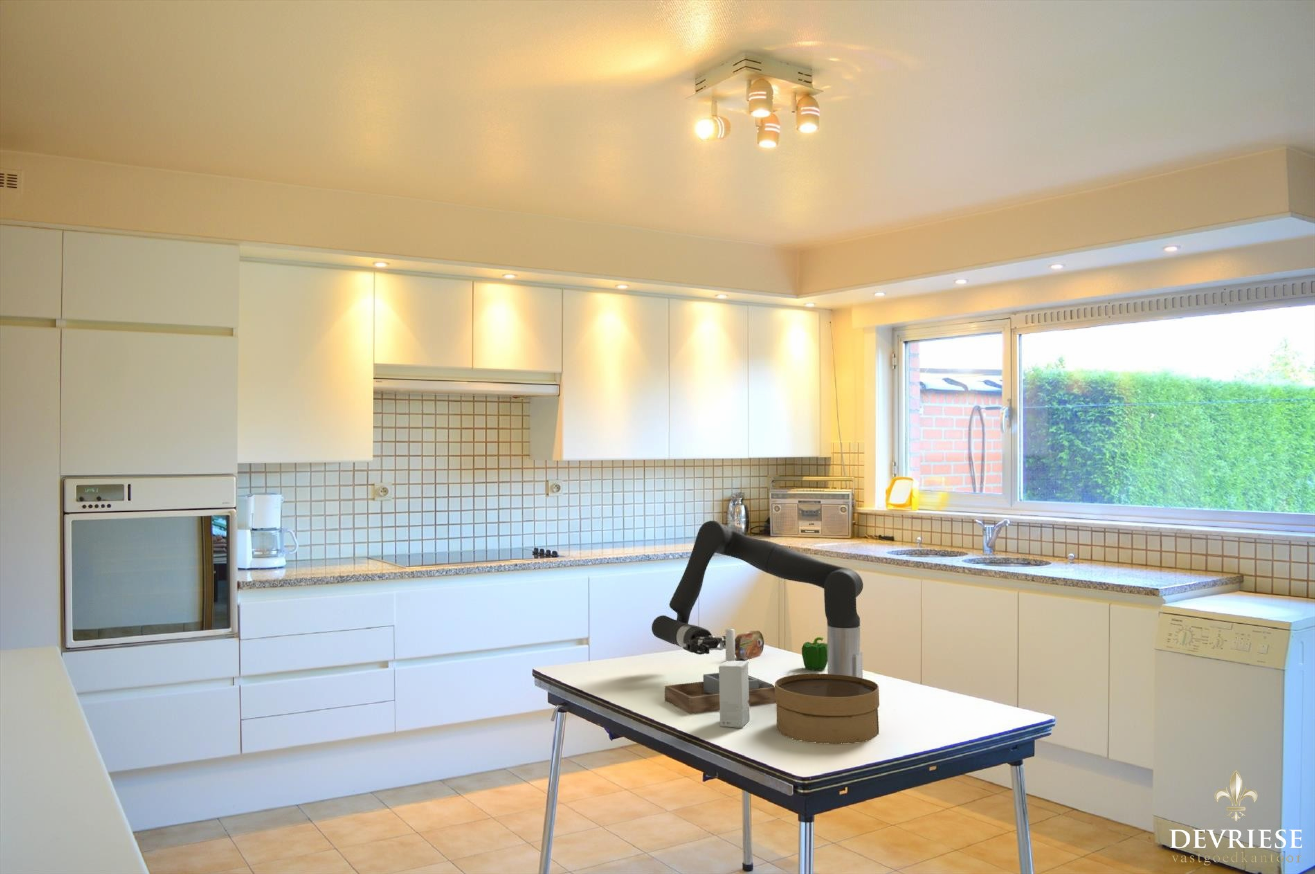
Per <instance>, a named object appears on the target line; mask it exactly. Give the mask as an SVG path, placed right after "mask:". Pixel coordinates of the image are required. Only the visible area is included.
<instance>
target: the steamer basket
mask: <svg viewBox="0 0 1315 874" xmlns="http://www.w3.org/2000/svg"><path fill="white" fill-rule="evenodd" d="M774 687H775V702H776V703H775V704H776V730H777V732H778V731H779V732H778V733H779V734H780V733H781V734H780V735H782V736H784V737H786V736H787V738H789V739H792V738H793V739H792V740H795V741H799V740H802V741H801V742H804V741H805V742H804V743H810V742H816V743H815V744H819V743H823V744H822V745H825V744H824V743H829V744H828V745H844V744H843V743H851V744H856V743H855V742H859V743H863V742H866V740H867V741H869V740H873V739H874V738H875V737H877V736H878V735H879V732H880V727H879V726H880V725H879V724H880V723H879V722H880V721H879V706H880V689H879V688H880V687H879V685H878V684H877V683H876V682H875V681H872V680H870V679H867V678H864V677H863V678H859V677H854V676H847V675H838V674H828V673H800V674H792V675H786V676H783V677H780V678H778V679H777V680H775V682H774ZM841 743H842V744H841Z"/></svg>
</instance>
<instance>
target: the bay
mask: <svg viewBox="0 0 1315 874" xmlns="http://www.w3.org/2000/svg"><path fill="white" fill-rule="evenodd" d="M748 676H750V677H752V678H755V679H757V680H759V689H753V690H749V707H751V706H752V707H753V706H760V705H767V704H776V702H775V684H773V683H770V682H767V681H765V680H763V679H759V678H757V677H754V676H752V675H749V674H748ZM664 702H667V703H669V704H670V705H672V706H675V707H676V708H678V709H680V710H682V711H683V712H686V713H689V714H690V713H691V714H692V713H693V714H699V713H707V712H715V711H720V698H719V694H712V695H707V694H705V693H703V681H696V682H686V683H678V684H670V685H664ZM691 714H690V715H691Z"/></svg>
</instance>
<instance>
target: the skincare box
mask: <svg viewBox="0 0 1315 874" xmlns="http://www.w3.org/2000/svg"><path fill="white" fill-rule="evenodd" d="M718 673H719V698H720V710H719V726H720V727H726V728H727V727H728V728H737V729H743V728H744V727H745V725H746V724H747V723H748V722H749V721H750V706H749V681H748V675H749V660H735V661H726V660H725V662H722V663H721V664H720V665H719V666H718Z"/></svg>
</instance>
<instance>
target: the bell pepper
mask: <svg viewBox="0 0 1315 874" xmlns="http://www.w3.org/2000/svg"><path fill="white" fill-rule="evenodd" d="M823 640H824V637H822V636H817V637H816V638H814V640H813V642H810V641H806V642H804V643H803V645H802V647H801V655H802V656H801V657H802V662H803V665H804V668H805V670H808V671H816V670H817V671H821V670H822V671H823V670H825V669H826V667H827V666H828V663H827V643H825V642H823ZM818 641H821V643H820V642H818Z"/></svg>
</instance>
